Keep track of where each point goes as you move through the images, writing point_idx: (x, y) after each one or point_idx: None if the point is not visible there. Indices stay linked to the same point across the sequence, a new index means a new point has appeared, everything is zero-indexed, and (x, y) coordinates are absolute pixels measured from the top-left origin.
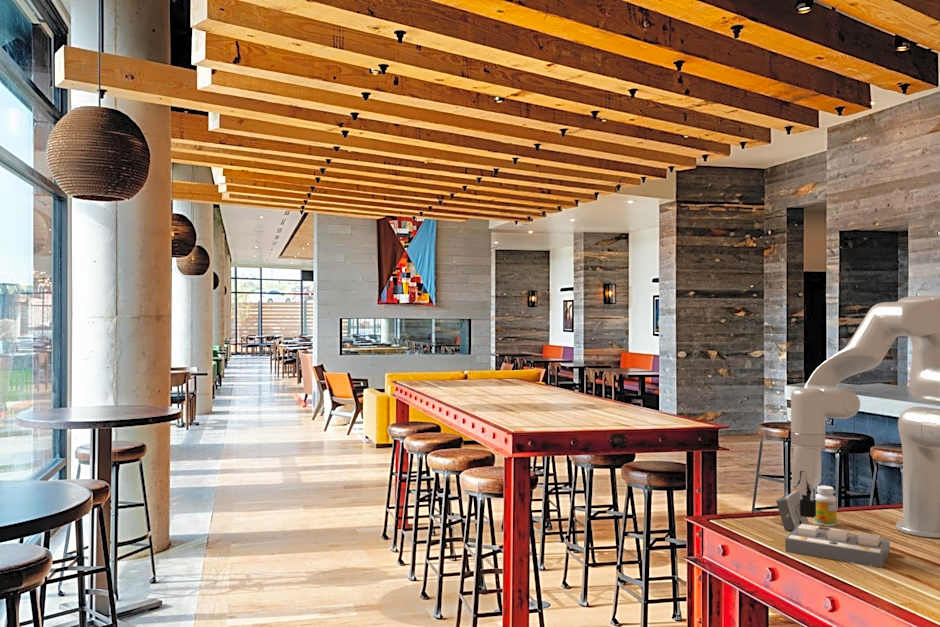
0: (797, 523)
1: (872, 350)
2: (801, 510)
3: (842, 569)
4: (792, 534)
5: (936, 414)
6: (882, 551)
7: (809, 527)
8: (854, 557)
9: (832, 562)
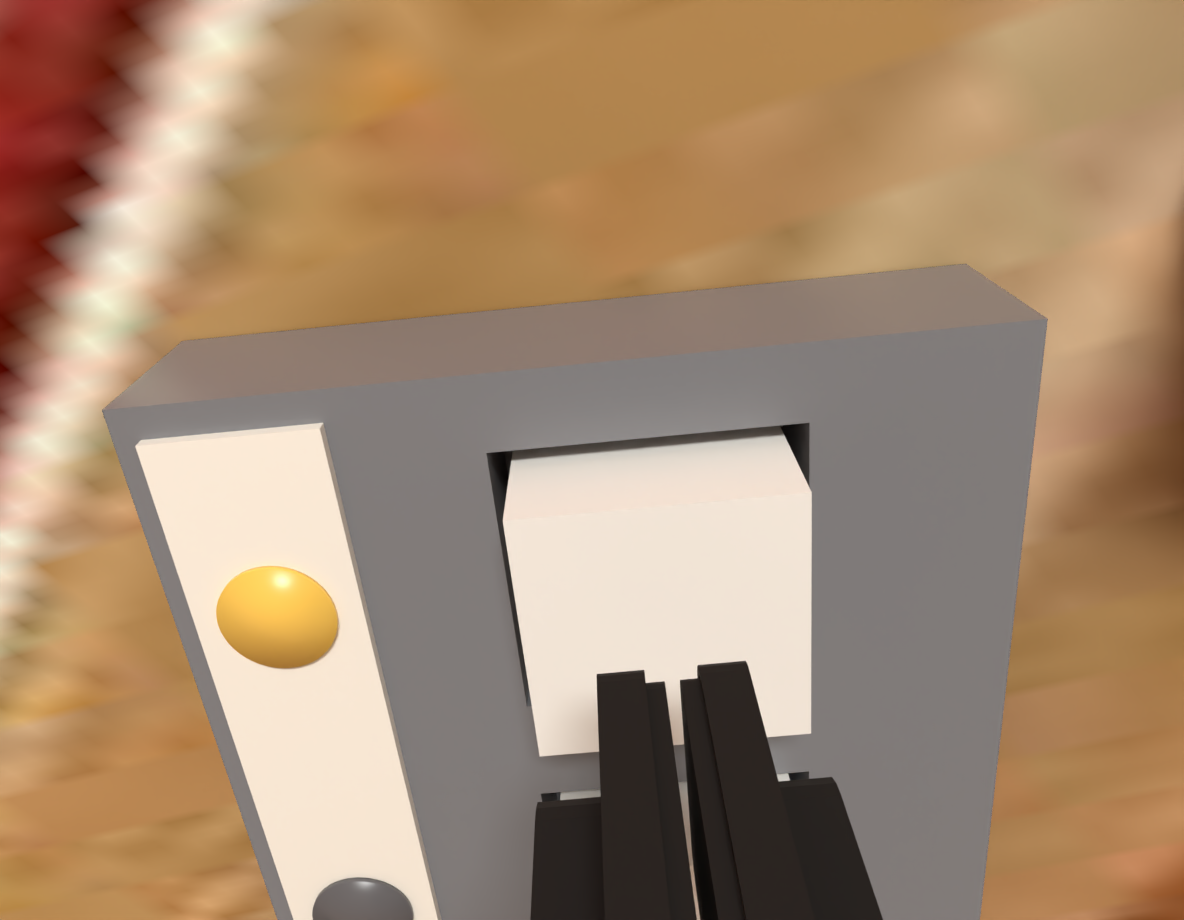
0: None
1: None
2: (601, 772)
3: (91, 913)
4: (414, 421)
5: None
6: None
7: (646, 653)
8: None
9: (221, 813)
